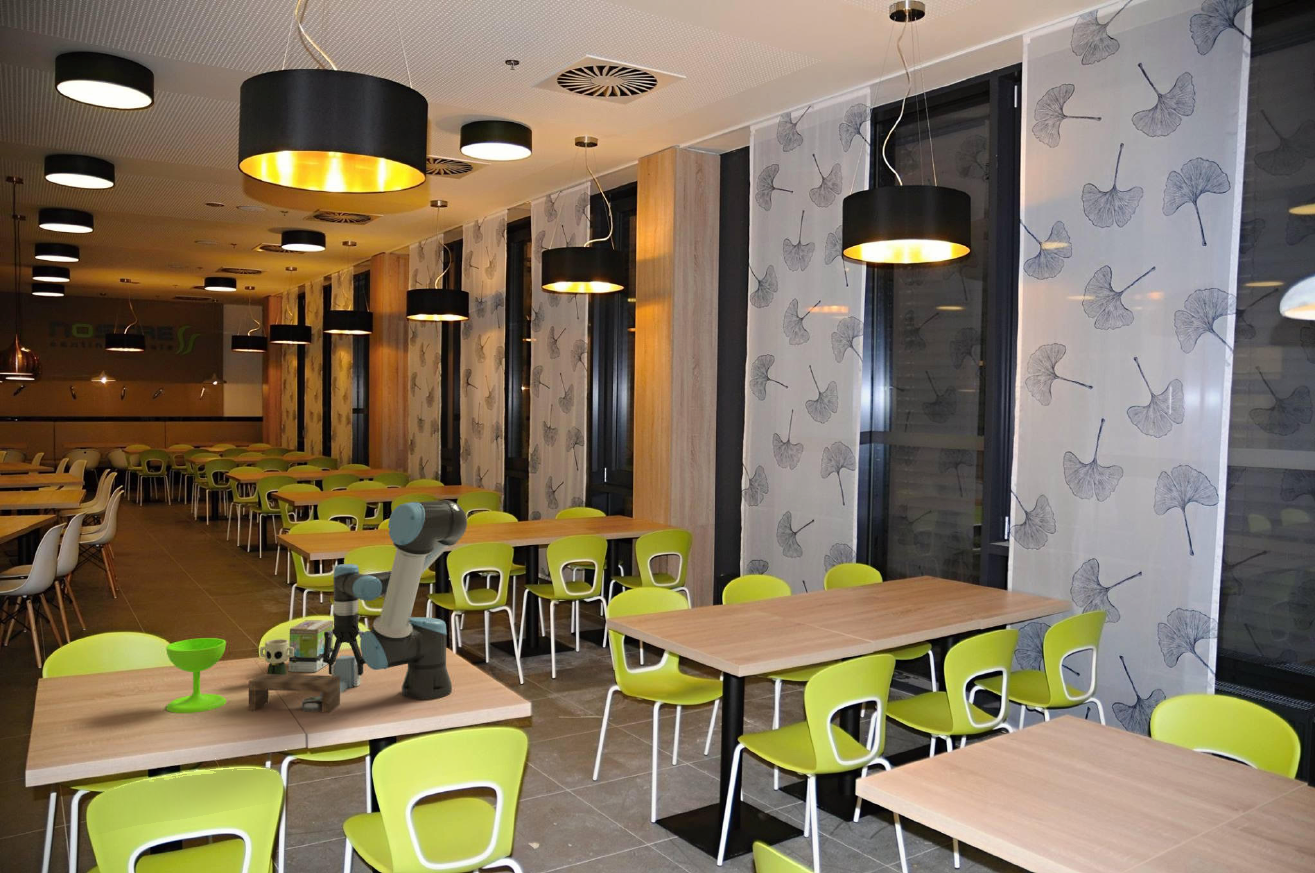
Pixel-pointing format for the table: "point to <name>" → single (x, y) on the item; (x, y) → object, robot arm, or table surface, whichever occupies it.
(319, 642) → the tea box
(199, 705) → the wineglass
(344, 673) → the push stick
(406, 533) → the robot arm
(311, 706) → the token
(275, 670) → the character mug
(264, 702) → the shelf
